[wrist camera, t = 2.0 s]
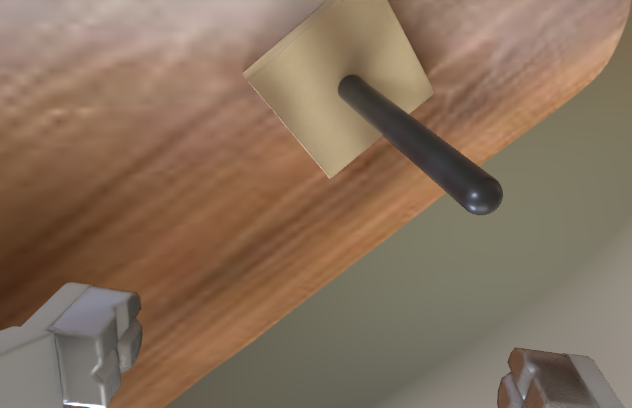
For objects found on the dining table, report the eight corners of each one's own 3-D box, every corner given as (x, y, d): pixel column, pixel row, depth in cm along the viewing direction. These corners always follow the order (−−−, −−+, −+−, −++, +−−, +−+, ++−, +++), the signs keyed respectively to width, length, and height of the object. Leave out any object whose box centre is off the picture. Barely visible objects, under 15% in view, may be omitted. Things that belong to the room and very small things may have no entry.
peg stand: (322, 168, 44) (443, 324, 29) (241, 73, 37) (347, 214, 21) (423, 85, 44) (605, 198, 28) (362, -31, 36) (565, 37, 20)
